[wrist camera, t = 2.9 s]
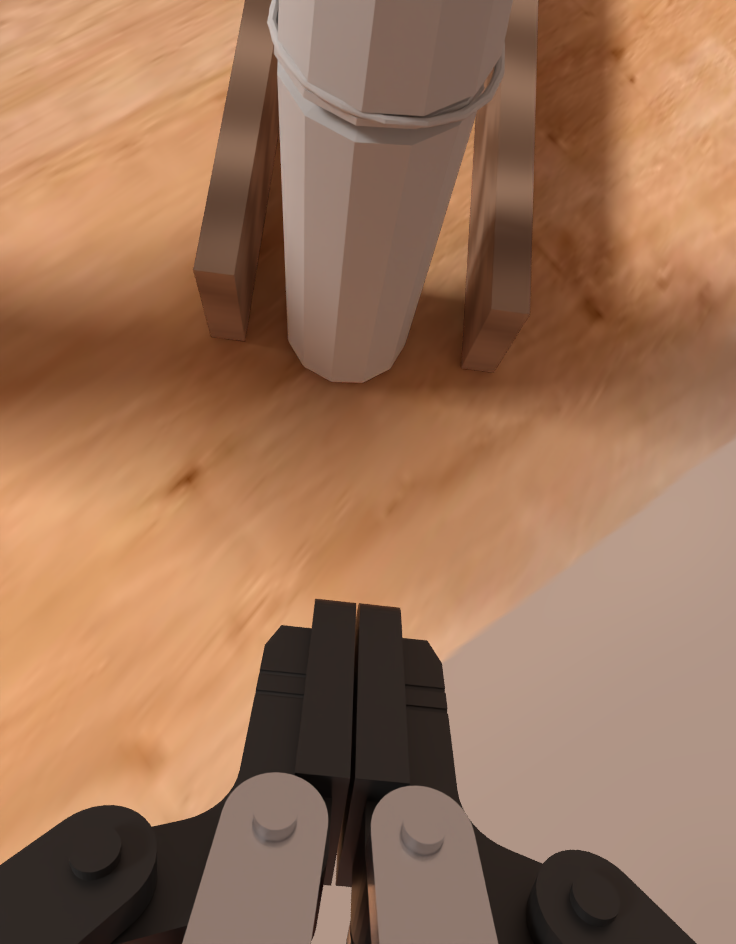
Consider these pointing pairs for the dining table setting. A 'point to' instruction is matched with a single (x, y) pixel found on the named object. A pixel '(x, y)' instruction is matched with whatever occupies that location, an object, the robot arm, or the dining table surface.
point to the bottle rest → (492, 196)
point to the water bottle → (372, 161)
